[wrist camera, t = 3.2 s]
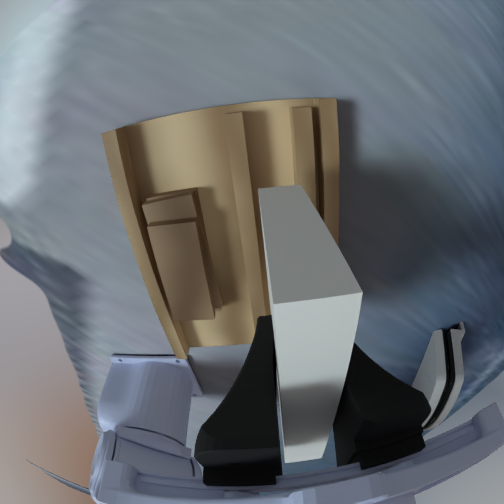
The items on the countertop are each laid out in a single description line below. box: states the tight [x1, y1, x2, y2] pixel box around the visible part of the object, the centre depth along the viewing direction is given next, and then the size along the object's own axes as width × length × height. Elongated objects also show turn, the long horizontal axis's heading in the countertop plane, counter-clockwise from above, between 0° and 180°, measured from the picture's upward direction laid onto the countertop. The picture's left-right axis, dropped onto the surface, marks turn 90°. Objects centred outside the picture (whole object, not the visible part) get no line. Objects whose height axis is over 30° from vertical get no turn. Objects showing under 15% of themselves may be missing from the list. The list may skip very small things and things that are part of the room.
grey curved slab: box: [411, 322, 465, 431], centre depth 28 cm, size 17×5×10 cm, turn 11°
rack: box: [102, 98, 340, 359], centre depth 20 cm, size 14×20×3 cm
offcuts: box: [142, 187, 223, 321], centre depth 20 cm, size 4×10×2 cm, turn 6°
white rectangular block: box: [258, 185, 363, 463], centre depth 12 cm, size 2×12×8 cm, turn 6°
